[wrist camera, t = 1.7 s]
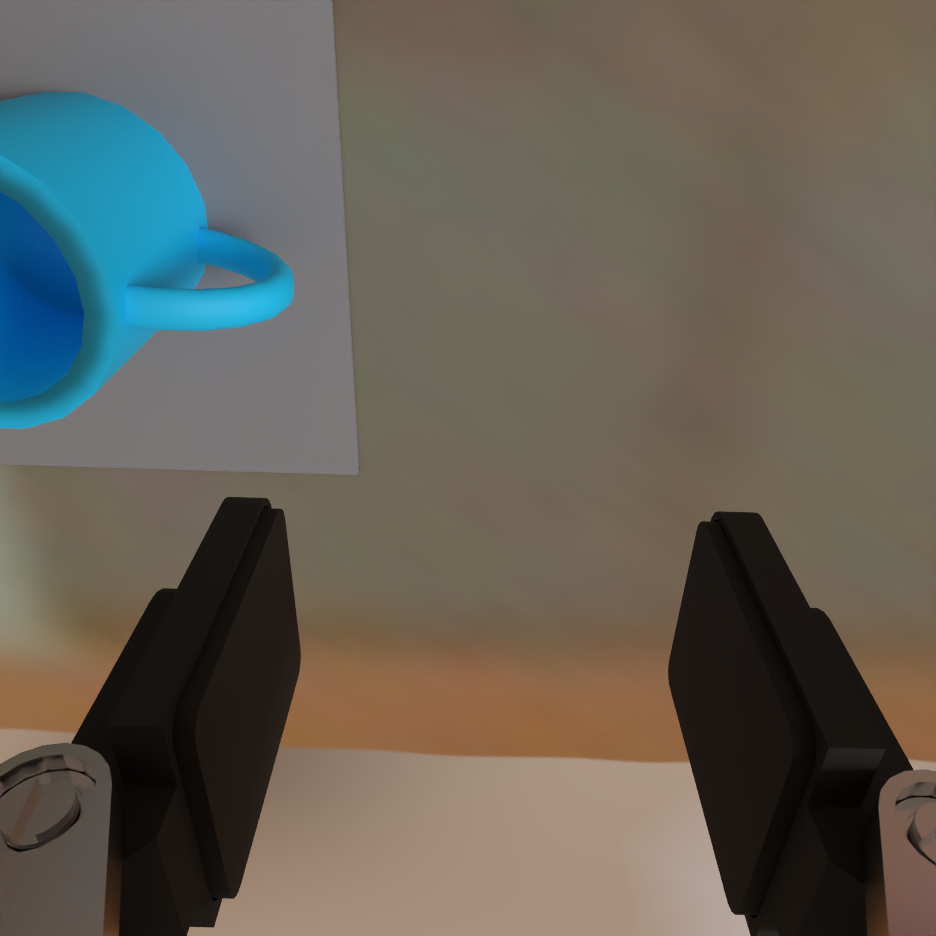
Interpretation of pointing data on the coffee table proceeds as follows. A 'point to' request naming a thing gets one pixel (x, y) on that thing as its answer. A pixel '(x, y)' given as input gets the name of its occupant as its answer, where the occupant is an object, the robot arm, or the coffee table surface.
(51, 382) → the mug
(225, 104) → the mat
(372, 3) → the coffee table surface
